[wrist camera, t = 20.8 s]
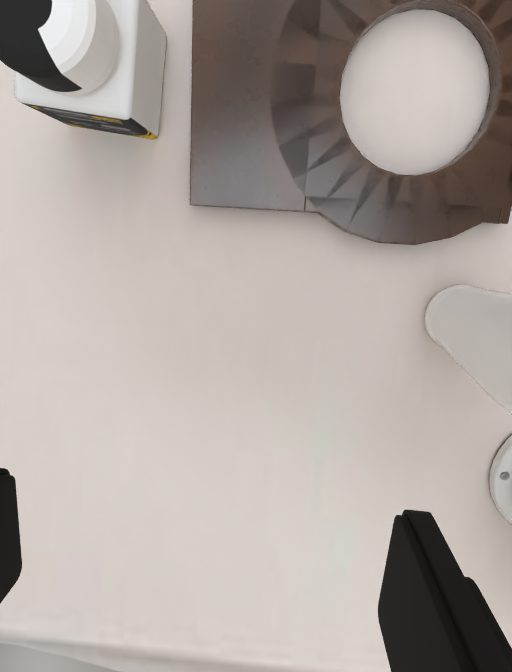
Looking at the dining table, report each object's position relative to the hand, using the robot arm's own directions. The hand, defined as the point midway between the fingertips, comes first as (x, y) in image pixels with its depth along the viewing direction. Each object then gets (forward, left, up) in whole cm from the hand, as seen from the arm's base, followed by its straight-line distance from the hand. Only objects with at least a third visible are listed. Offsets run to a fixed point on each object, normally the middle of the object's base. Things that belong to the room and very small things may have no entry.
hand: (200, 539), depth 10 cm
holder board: (-8, -17, -26) cm, 32 cm away
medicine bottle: (+11, -17, -27) cm, 33 cm away
